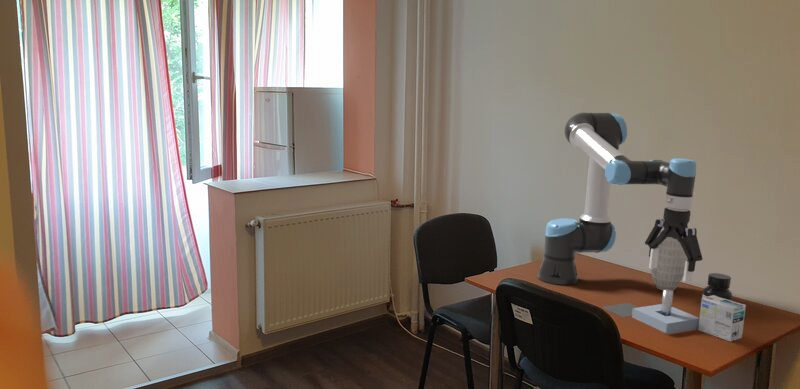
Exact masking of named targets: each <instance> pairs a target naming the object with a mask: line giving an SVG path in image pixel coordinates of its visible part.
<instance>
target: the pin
mask: <svg viewBox="0 0 800 389" xmlns="http://www.w3.org/2000/svg"><path fill="white" fill-rule="evenodd" d="M673 299H674V291H672V290H669V289H664V290H662V296H661V304H662V305H661V314H662V315H664V316H671V309H672V307H673Z"/></svg>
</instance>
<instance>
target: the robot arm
mask: <svg viewBox="0 0 800 389" xmlns="http://www.w3.org/2000/svg"><path fill="white" fill-rule="evenodd" d="M564 136H565V139H566V141H567V142H568V143H569V144H570V145H572V147H574V148H577V149H581V151H582V152H584V153H585V154H586V155H587V156H588V157H589V162H588V170H587V171H588V173H587V182H586V190H585V191H586V192H585V200H584V201H585V202H584V211H583V213H582V214H581V215H579V221H578V220H576V219H574V218H565V217H564V218H556V219H551V220H550V221H548V222H547V224H546V227H545V232H544V234H545V237H544V249H543V251H544V252H543V259H542V262H541V264H540V267H539V269H538V271H537V278H538V280H540V281H543V282H546V283H548V284H554V285H562V286H563V285H564V286H565V285H566V286H567V285H574V284H576V283H578V281H579V279H578V278H579V275H578V270H577V265H576V263H575V258H576V254H579V253H580V254H581V253H582V254H583V253H584V254H585V253H587V254H588V253H595V254H596V253H597V254H599V253H606V252H608V251H609V250H610V249H612V247H613V246H614V244H615V241H616V237H617V232H616V227H615V225H614V224H612V219H611V218H610V217H609V216H608V211H609V210H608V209H609V205H610V204H609V202H610V193H611V186H612V185H619V186H623V185H657V186H658V185H659V186H664V187H666V192H665V200H664V201H665V203H664V206H665V208H664V209H663V216H662V217H663V218H660V219H659V218H657V219H656V220H655V221H654V226H653V227H652V229H651V231H650V232H649V235H648V237H647V238H646V240H645V241H644V245H646V246H648V247H649V252H648V258H649V264H648V269H650V270H651V269H652V268H657V262H658V254H659V249H658V248H657V247H658V246H659V245H660V244H661V243H662V242H663V241H664V240H665V239H666V238H667V237H672V238H674V239H677V240H678V242H680V244H681V246H682V248H683V250H684V252H685V254H686V256H687V259H688V260H686V261H685V269H684V276H683V278H682V282H684V283H685V282H691V281H692V280H693V279H692V278H693V273H694V271H695V268H696V262H700V261H703V256H702V252H701V248H700V244H699V240H698V237H697V234H698V233H697V228H694V227H693V228H690V227H689V226H688V224H689V222H690V219H691V209H692V205H693V196H694V195H693V194H694V188H695V181H696V176H697V162H696V161H695V160H693V159H691V158H690V159H689V158H679V157H678V158H676V157H675V158H672V159H670V161H666V160H665V161H664V160H662V159H650V160H631V159H629V158H628V157H627V156H625V155H624V154H623V153H622V152H620V150H619V147H620V145H623V144H624V143H625V140H626V139H627V137H628V127H627V123H626V121H625V119H624V117H623V116H622V115H620V114H619V113H611V112H579V113H577V114H573V115H572V116H571V117H570V118H569V119H568V120H567V122H566V124H565V126H564ZM662 227H664V230H663V231H662V232H661V233H660V231H661V229H662ZM659 233H660V235H659V236H658V234H659ZM657 236H658V237H657ZM682 237H683V238H682Z"/></svg>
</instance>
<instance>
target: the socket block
mask: <svg viewBox="0 0 800 389" xmlns="http://www.w3.org/2000/svg"><path fill="white" fill-rule="evenodd" d="M661 305H662V303H660V304H659V303H657V304H653V305H646V306H639V307H638V308H633V311H632V316H631V318H633V319H635V320H637V321H639V322H641V323H643V324H646V325H648V326H649V327H652V328H654V329H657V330H658V331H660V332H662V333H663V334H664V335H670V334H671V335H672V334H676V333H682V332H688V331H694V330H698V326H699V318H700V317H698V316H695V315H693V314H691V313H689V312H686V311H684V310H681V309H678V308H676V307H674V306H672V309H671V316H664V315H662V314H661Z"/></svg>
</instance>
